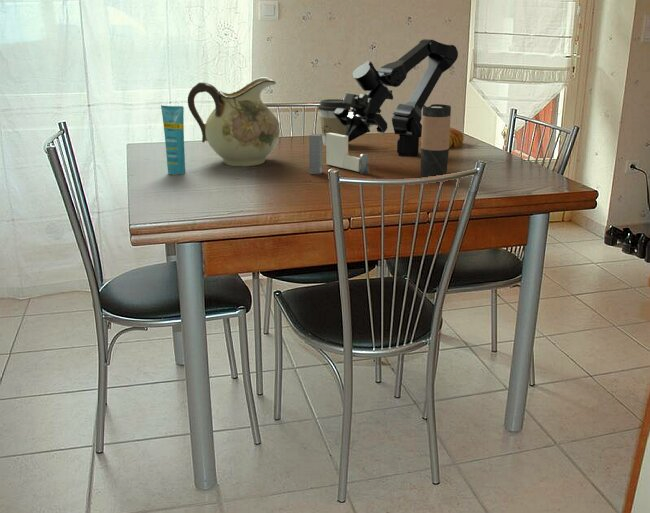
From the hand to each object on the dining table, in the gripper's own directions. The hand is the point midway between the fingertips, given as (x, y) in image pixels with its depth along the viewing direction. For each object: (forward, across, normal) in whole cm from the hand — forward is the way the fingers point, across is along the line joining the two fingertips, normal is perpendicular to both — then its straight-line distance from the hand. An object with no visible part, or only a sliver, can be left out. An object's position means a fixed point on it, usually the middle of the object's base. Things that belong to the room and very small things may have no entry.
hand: (345, 142), depth 215 cm
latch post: (+14, +2, -4) cm, 15 cm away
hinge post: (+7, +11, +3) cm, 13 cm away
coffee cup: (-9, -28, +19) cm, 35 cm away
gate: (+7, +3, +3) cm, 8 cm away
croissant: (-29, -4, +39) cm, 49 cm away
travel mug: (0, +28, +11) cm, 30 cm away
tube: (+36, -24, -25) cm, 50 cm away
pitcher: (+20, -24, -9) cm, 33 cm away
